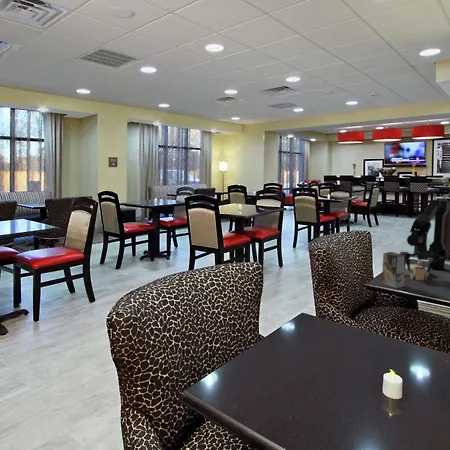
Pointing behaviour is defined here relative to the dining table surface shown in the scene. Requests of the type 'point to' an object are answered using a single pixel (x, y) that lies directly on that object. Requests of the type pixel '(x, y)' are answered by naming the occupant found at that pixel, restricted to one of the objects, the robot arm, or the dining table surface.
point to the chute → (418, 272)
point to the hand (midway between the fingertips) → (418, 271)
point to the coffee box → (393, 269)
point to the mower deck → (410, 273)
